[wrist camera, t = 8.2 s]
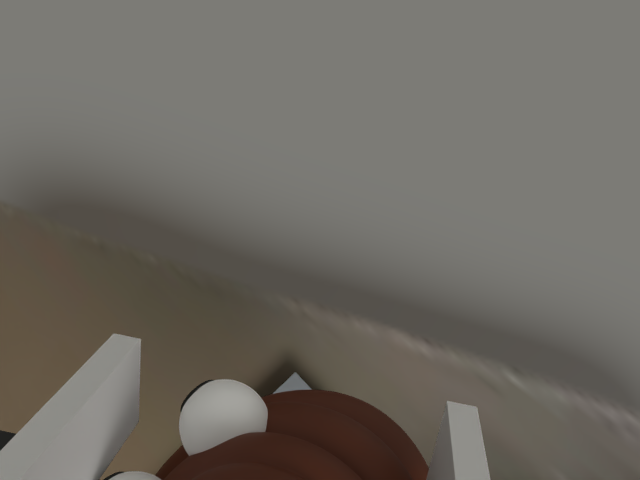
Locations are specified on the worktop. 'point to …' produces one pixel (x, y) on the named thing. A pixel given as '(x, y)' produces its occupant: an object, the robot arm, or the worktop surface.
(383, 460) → the poop emoji
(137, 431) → the worktop surface
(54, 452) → the robot arm
